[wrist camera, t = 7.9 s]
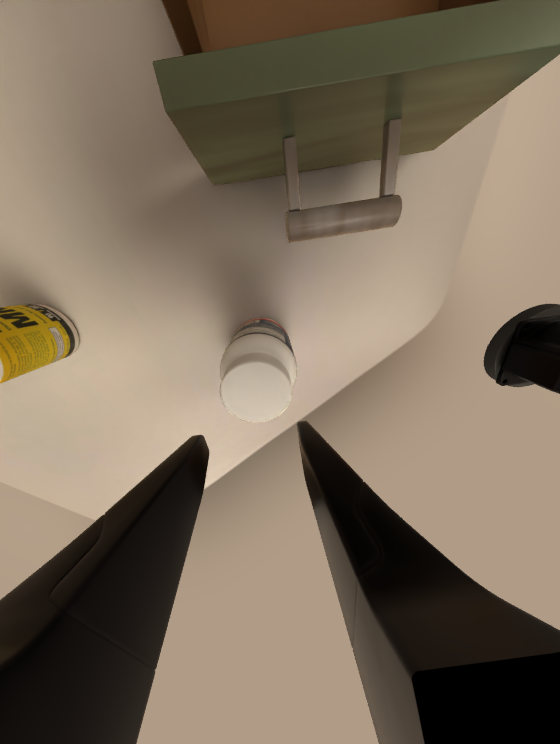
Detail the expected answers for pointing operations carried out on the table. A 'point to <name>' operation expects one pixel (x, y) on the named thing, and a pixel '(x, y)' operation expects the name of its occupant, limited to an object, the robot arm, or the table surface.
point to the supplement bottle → (33, 338)
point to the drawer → (341, 86)
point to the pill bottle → (258, 371)
